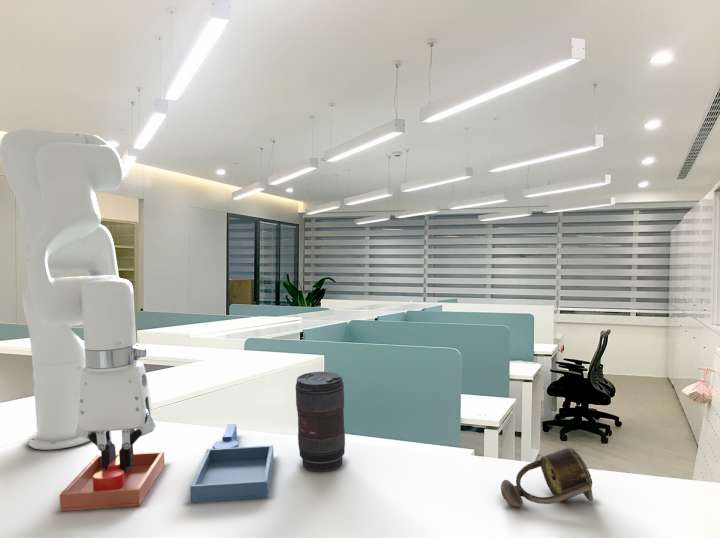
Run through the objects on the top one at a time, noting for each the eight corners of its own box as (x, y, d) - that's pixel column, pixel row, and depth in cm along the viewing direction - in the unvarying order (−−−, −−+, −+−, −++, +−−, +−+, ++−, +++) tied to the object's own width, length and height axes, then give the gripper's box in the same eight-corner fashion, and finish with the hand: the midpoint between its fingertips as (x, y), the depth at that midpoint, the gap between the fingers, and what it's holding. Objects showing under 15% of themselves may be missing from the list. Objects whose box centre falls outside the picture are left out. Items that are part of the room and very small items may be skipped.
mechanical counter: (604, 482, 77) (592, 439, 86) (505, 467, 79) (503, 427, 89) (596, 526, 79) (585, 480, 88) (500, 511, 82) (499, 467, 91)
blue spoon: (237, 459, 102) (236, 444, 102) (211, 460, 102) (210, 446, 101) (244, 436, 113) (243, 423, 113) (221, 437, 113) (220, 424, 112)
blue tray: (208, 463, 101) (207, 449, 100) (273, 459, 101) (273, 445, 101) (190, 503, 86) (189, 486, 86) (267, 498, 87) (266, 481, 87)
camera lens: (289, 470, 97) (286, 381, 96) (311, 452, 104) (308, 369, 103) (334, 476, 94) (331, 385, 93) (353, 457, 101) (351, 372, 100)
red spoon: (119, 491, 87) (118, 473, 87) (88, 493, 86) (87, 475, 86) (140, 466, 98) (140, 451, 98) (113, 468, 97) (113, 452, 97)
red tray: (97, 469, 99) (96, 455, 99) (164, 465, 100) (164, 451, 100) (60, 511, 84) (59, 494, 84) (139, 506, 85) (138, 489, 85)
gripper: (168, 350, 96) (174, 459, 97) (69, 354, 95) (76, 465, 96) (156, 360, 89) (163, 478, 90) (48, 365, 87) (57, 484, 89)
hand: (118, 470), depth 93 cm, fingers closed on red spoon
